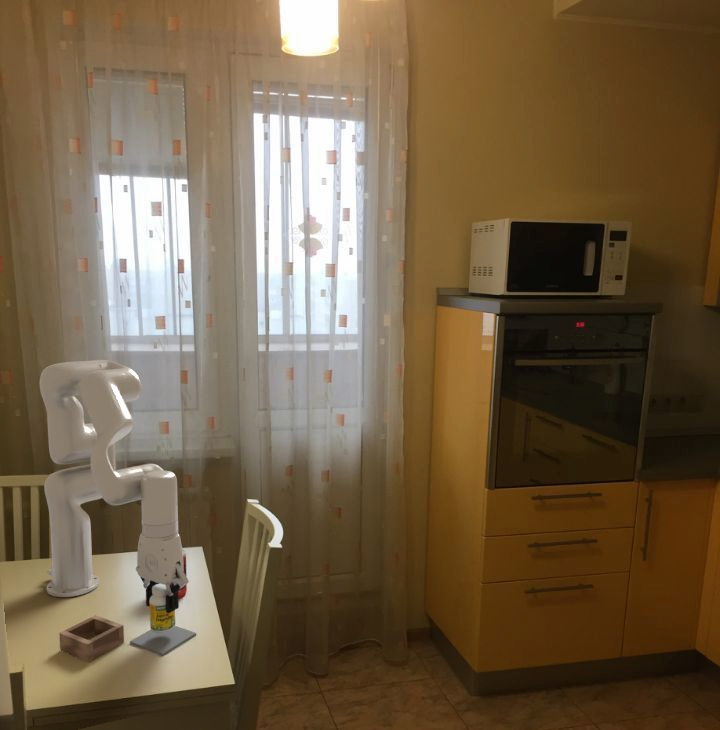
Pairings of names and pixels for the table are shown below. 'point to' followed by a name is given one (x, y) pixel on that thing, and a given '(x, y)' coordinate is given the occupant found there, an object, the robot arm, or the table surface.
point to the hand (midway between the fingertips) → (162, 606)
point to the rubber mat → (163, 640)
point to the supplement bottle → (160, 611)
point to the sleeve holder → (88, 650)
